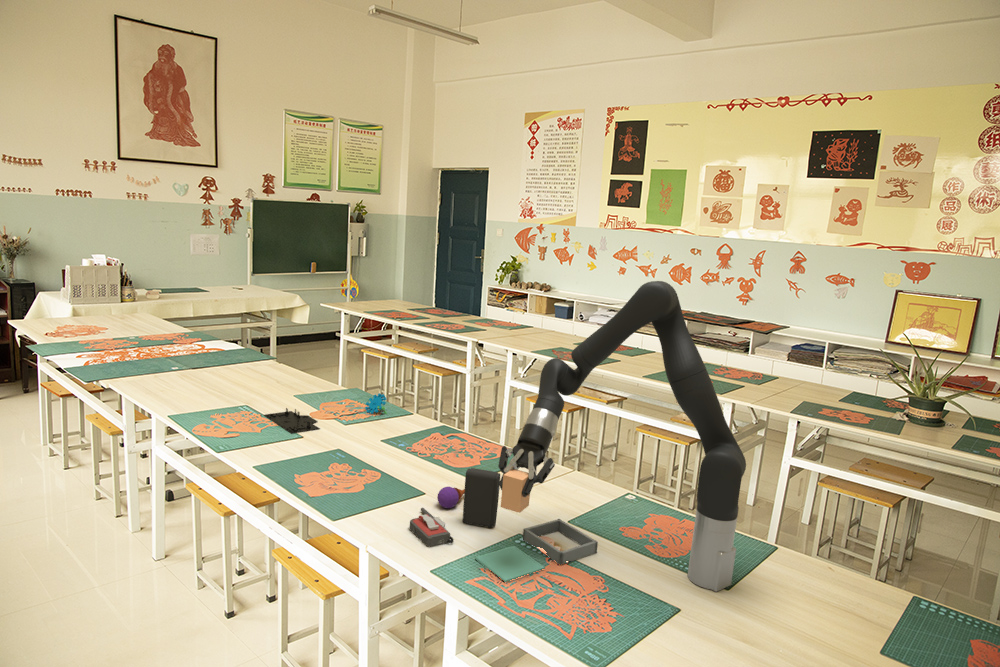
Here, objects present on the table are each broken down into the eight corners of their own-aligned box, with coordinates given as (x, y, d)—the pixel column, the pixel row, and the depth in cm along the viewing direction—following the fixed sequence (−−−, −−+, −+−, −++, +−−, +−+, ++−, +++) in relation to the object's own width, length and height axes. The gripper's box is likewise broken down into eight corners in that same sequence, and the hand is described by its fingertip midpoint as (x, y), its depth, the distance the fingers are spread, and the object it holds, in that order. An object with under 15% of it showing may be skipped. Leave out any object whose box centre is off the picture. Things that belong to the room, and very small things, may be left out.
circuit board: (263, 416, 251) (264, 409, 251) (298, 411, 261) (299, 404, 260) (291, 435, 233) (291, 427, 233) (327, 429, 243) (327, 421, 242)
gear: (360, 406, 268) (377, 388, 271) (368, 414, 272) (384, 397, 275) (372, 416, 260) (390, 398, 263) (380, 424, 264) (397, 407, 267)
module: (528, 505, 153) (531, 473, 152) (519, 512, 149) (522, 480, 148) (510, 499, 156) (513, 468, 154) (500, 507, 151) (503, 474, 150)
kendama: (492, 480, 195) (452, 495, 179) (487, 498, 197) (446, 514, 180) (477, 471, 199) (436, 485, 182) (472, 489, 200) (430, 504, 183)
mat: (544, 569, 154) (545, 567, 154) (505, 583, 146) (505, 580, 146) (513, 547, 163) (513, 545, 163) (475, 559, 156) (475, 557, 156)
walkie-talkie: (460, 544, 163) (424, 512, 180) (461, 528, 163) (425, 497, 179) (429, 551, 159) (395, 518, 175) (431, 535, 158) (396, 503, 174)
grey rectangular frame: (596, 552, 164) (597, 541, 163) (560, 565, 156) (561, 553, 156) (558, 529, 175) (559, 518, 175) (522, 539, 168) (523, 528, 167)
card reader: (497, 523, 176) (502, 471, 173) (494, 529, 172) (498, 476, 169) (465, 517, 178) (469, 466, 175) (461, 523, 174) (465, 471, 171)
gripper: (508, 416, 159) (481, 477, 150) (562, 429, 153) (536, 493, 144) (516, 432, 165) (490, 491, 156) (568, 444, 158) (544, 507, 150)
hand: (512, 492), depth 150 cm, fingers closed on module, 5 cm apart
